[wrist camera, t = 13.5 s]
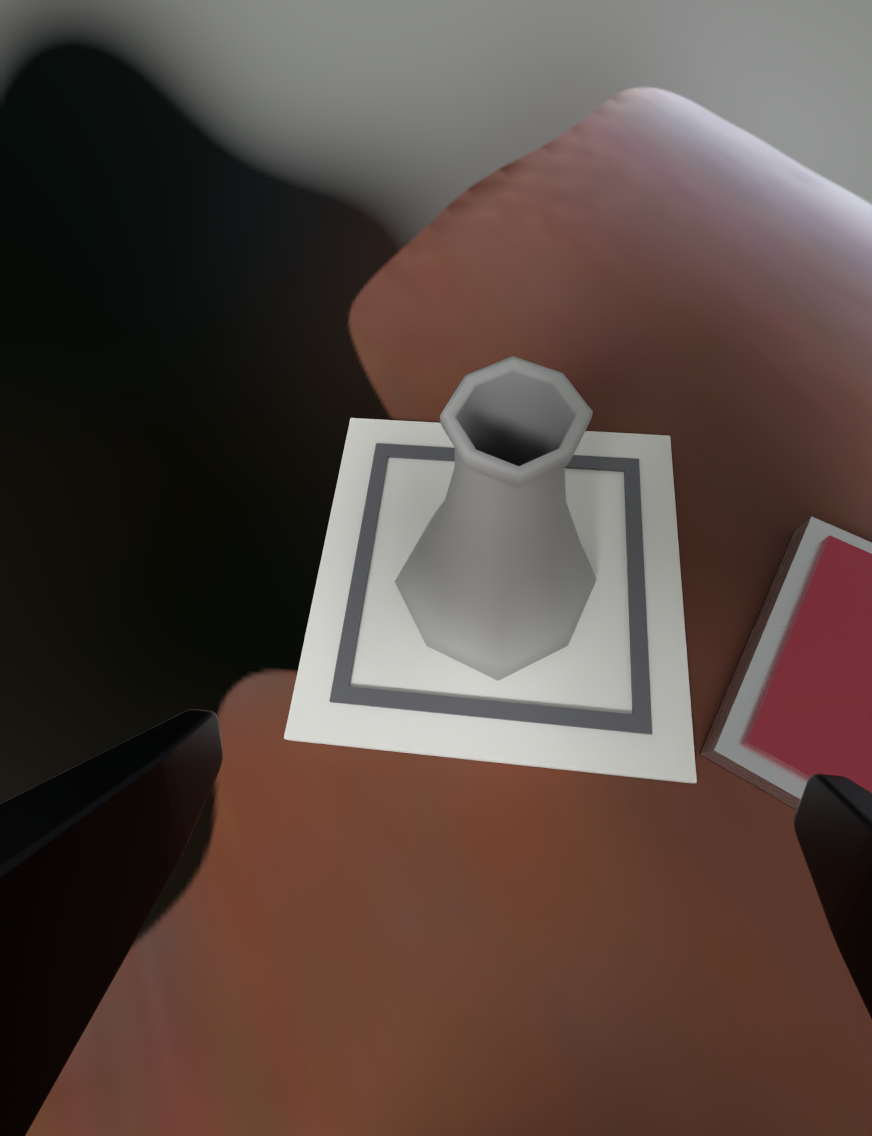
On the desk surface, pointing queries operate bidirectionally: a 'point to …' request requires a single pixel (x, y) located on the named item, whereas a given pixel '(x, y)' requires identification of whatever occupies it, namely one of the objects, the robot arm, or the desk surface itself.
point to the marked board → (537, 692)
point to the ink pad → (804, 672)
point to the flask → (503, 524)
